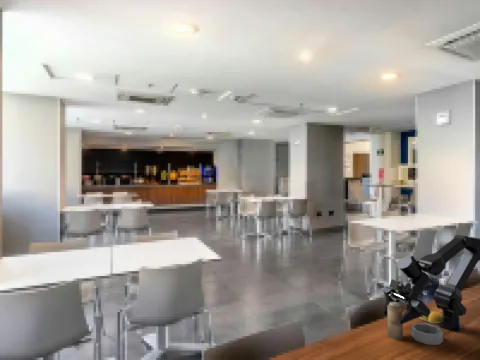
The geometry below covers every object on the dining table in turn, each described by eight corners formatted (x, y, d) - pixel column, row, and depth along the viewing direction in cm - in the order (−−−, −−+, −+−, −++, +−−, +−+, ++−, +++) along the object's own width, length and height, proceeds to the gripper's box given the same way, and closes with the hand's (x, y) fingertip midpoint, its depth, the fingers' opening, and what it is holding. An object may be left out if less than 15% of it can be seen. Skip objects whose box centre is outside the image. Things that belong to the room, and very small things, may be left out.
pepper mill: (396, 332, 124) (395, 300, 124) (406, 338, 119) (405, 305, 119) (385, 334, 123) (384, 302, 123) (394, 340, 118) (393, 306, 118)
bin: (419, 330, 126) (419, 321, 126) (446, 339, 118) (446, 329, 118) (407, 337, 120) (407, 328, 120) (435, 347, 112) (435, 337, 113)
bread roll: (440, 326, 129) (440, 316, 129) (416, 319, 136) (415, 309, 136) (447, 320, 135) (447, 310, 135) (424, 314, 142) (423, 304, 142)
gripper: (385, 266, 131) (362, 296, 128) (422, 278, 113) (396, 314, 110) (402, 284, 133) (380, 314, 130) (441, 299, 115) (416, 335, 112)
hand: (391, 318), depth 121 cm, fingers open, 8 cm apart
